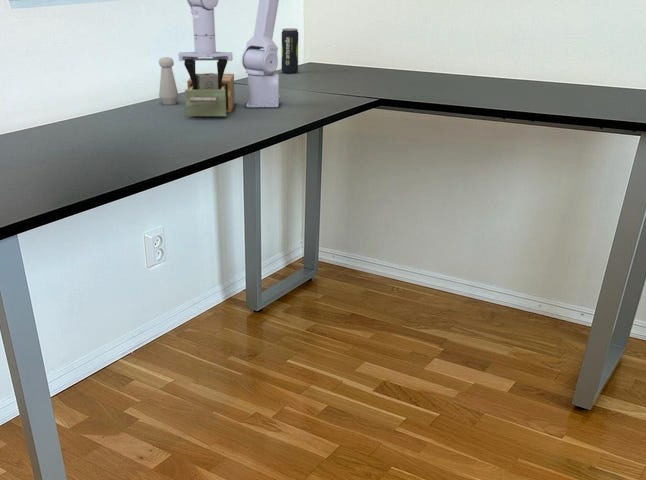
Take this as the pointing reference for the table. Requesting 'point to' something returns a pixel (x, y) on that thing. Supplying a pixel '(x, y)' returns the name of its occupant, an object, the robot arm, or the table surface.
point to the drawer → (206, 101)
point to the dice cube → (207, 81)
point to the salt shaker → (167, 82)
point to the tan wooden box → (229, 81)
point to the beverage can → (289, 50)
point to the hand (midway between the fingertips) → (207, 88)
